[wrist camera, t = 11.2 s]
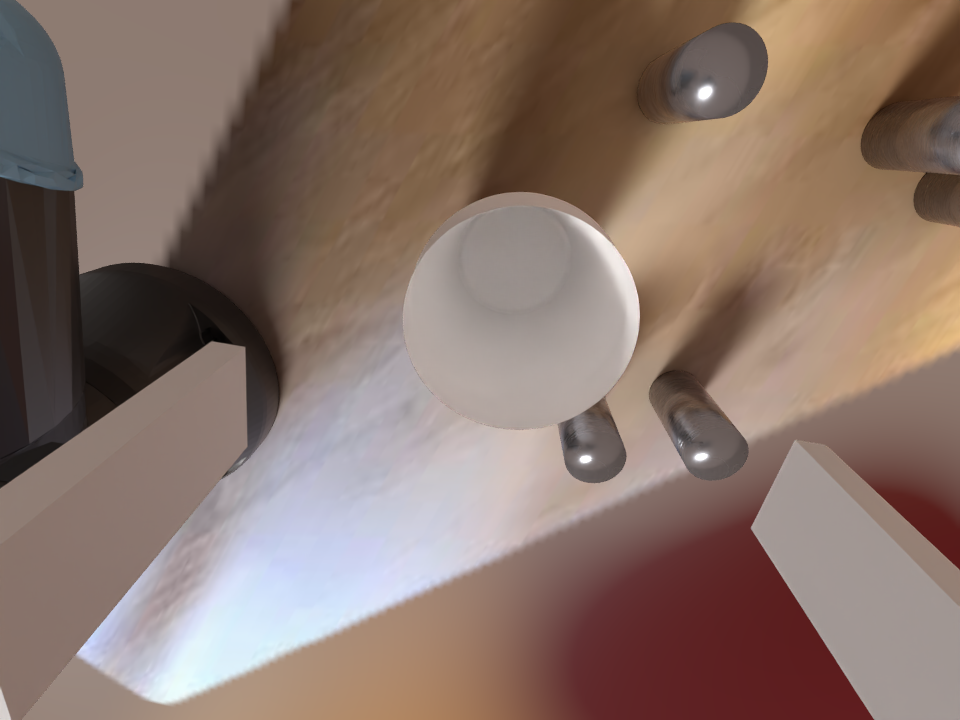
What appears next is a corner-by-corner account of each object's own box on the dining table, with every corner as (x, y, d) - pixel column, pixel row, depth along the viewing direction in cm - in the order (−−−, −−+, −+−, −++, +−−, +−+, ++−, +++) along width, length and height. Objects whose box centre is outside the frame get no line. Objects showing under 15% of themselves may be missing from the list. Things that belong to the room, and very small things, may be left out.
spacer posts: (547, 412, 33) (558, 477, 27) (648, 47, 25) (698, 14, 19) (825, 464, 34) (899, 539, 28) (1015, 124, 26) (1186, 118, 19)
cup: (459, 156, 27) (429, 165, 16) (615, 204, 28) (687, 243, 17) (421, 308, 31) (376, 400, 20) (561, 348, 32) (592, 457, 21)
